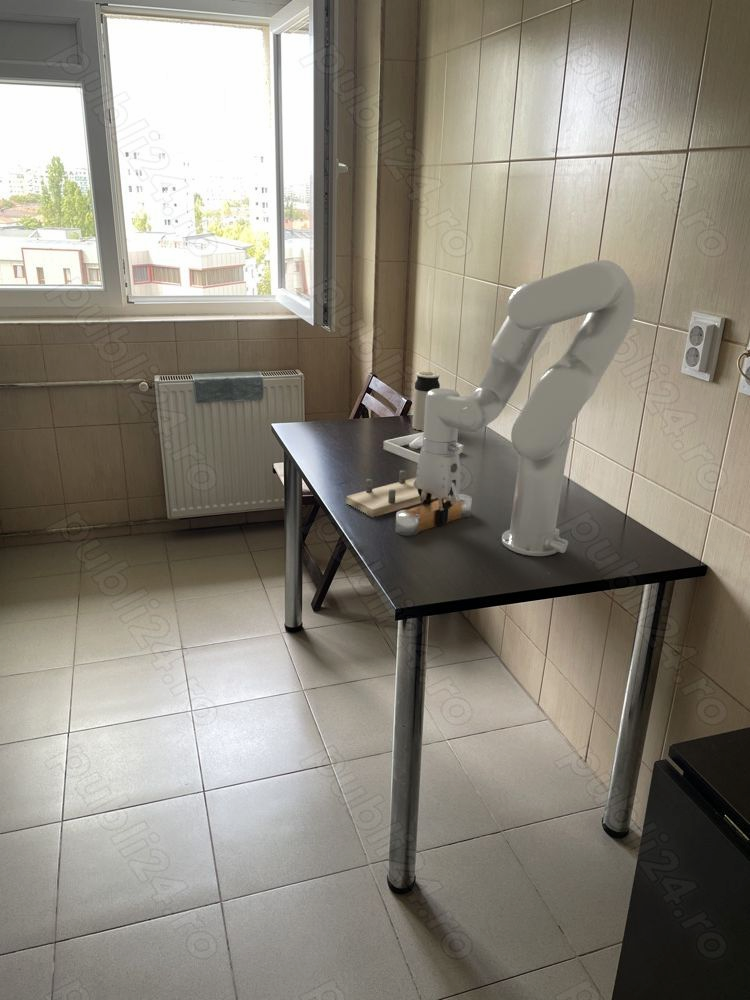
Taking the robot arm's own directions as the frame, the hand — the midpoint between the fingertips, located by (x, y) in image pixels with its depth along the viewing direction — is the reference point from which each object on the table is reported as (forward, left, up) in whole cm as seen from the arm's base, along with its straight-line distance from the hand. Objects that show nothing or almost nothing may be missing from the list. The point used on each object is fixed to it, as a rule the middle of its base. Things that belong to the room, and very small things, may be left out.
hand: (434, 520), depth 168 cm
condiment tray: (+39, -34, 0) cm, 52 cm away
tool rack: (+15, -2, 0) cm, 15 cm away
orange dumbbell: (0, 0, 0) cm, 0 cm away
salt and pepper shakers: (+39, -36, -1) cm, 54 cm away
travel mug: (+56, -51, -1) cm, 76 cm away
